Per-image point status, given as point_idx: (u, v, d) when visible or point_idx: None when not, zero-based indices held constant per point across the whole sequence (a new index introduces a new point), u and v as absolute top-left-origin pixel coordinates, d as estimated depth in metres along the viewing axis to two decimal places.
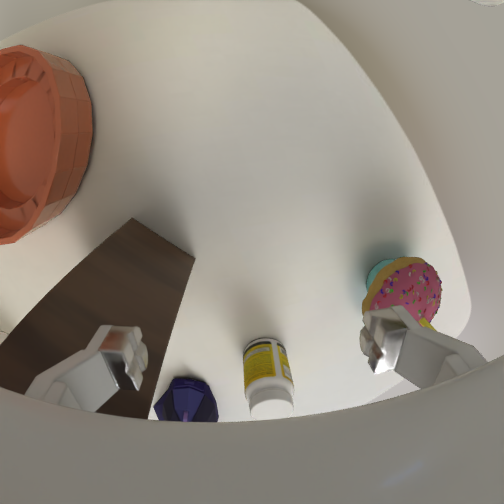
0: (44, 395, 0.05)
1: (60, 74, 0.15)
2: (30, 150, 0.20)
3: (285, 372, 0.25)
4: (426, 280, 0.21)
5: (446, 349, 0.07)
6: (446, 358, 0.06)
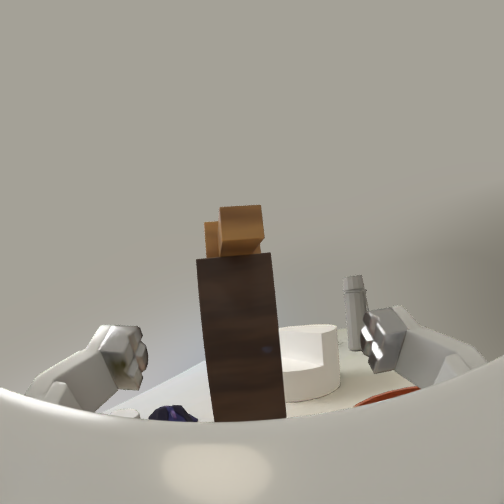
0: (44, 395, 0.05)
1: None
2: None
3: None
4: None
5: (446, 349, 0.07)
6: (446, 358, 0.06)
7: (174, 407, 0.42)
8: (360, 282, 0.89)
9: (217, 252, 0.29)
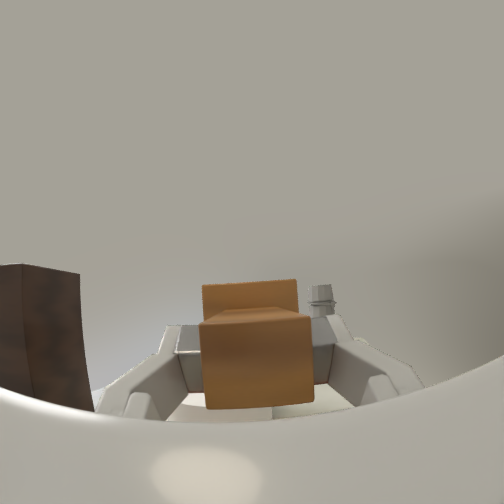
0: (123, 410, 0.05)
1: None
2: None
3: None
4: None
5: (375, 368, 0.07)
6: (370, 379, 0.06)
7: None
8: (328, 293, 0.75)
9: None
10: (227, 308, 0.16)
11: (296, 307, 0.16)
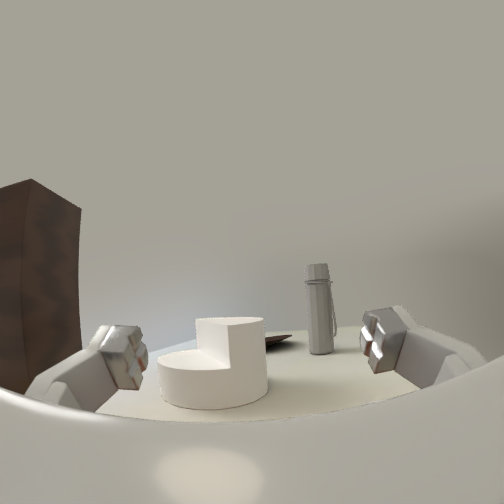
0: (44, 395, 0.05)
1: None
2: None
3: None
4: None
5: (446, 349, 0.07)
6: (446, 358, 0.06)
7: None
8: (324, 272, 0.76)
9: None
10: None
11: None
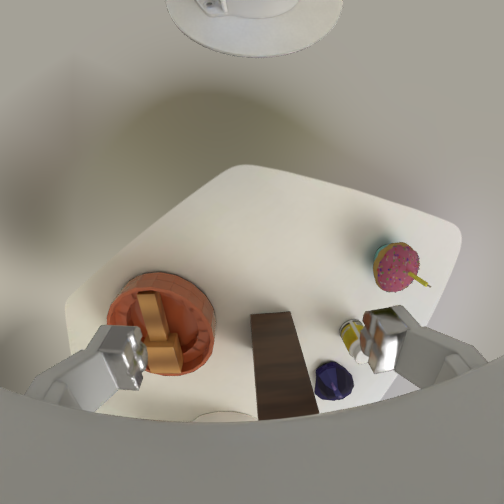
0: (44, 395, 0.05)
1: (174, 288, 0.41)
2: (173, 320, 0.48)
3: None
4: (397, 255, 0.40)
5: (446, 349, 0.07)
6: (446, 358, 0.06)
7: (333, 394, 0.53)
8: None
9: (170, 335, 0.45)
10: (166, 342, 0.44)
11: (144, 341, 0.44)
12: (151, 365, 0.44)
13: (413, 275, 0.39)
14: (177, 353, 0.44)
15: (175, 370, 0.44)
